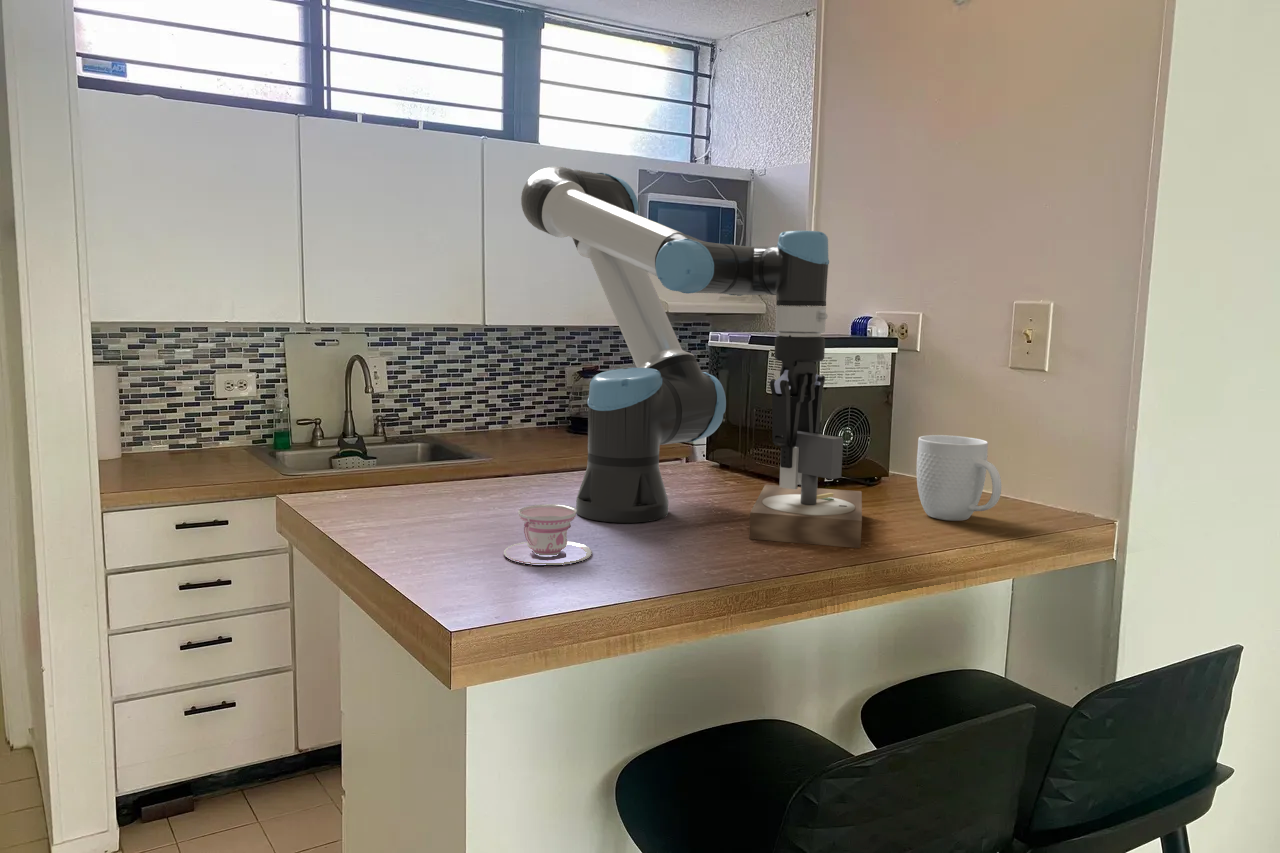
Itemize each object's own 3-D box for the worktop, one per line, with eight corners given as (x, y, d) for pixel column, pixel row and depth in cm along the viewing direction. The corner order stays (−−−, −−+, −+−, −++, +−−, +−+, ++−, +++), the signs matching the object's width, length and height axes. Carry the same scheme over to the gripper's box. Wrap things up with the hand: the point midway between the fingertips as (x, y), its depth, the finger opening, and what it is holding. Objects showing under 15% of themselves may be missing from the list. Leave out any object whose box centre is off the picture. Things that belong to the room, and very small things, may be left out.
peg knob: (829, 510, 134) (833, 439, 133) (778, 498, 142) (781, 430, 141) (857, 504, 139) (861, 435, 137) (807, 493, 146) (810, 427, 145)
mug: (1017, 524, 147) (1023, 445, 145) (974, 532, 141) (980, 449, 139) (941, 506, 159) (946, 433, 157) (899, 513, 153) (904, 437, 151)
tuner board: (749, 538, 134) (750, 510, 133) (764, 507, 155) (765, 482, 154) (860, 548, 130) (862, 518, 129) (860, 514, 151) (861, 489, 151)
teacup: (538, 539, 131) (539, 497, 130) (608, 552, 125) (609, 509, 124) (484, 558, 121) (484, 513, 120) (558, 573, 115) (559, 526, 114)
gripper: (796, 337, 129) (790, 498, 132) (846, 334, 142) (839, 481, 145) (751, 335, 134) (746, 490, 137) (803, 332, 146) (798, 475, 150)
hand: (794, 485), depth 141 cm, fingers closed on peg knob, 3 cm apart
